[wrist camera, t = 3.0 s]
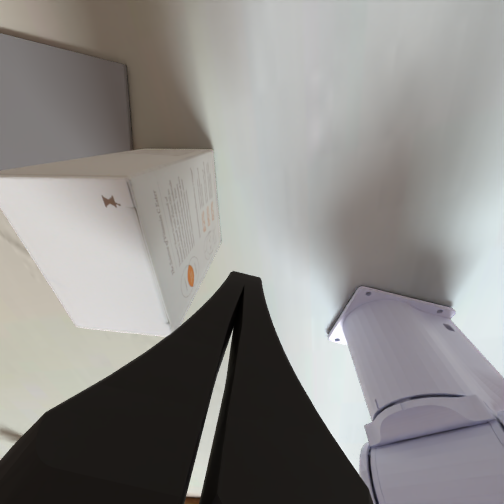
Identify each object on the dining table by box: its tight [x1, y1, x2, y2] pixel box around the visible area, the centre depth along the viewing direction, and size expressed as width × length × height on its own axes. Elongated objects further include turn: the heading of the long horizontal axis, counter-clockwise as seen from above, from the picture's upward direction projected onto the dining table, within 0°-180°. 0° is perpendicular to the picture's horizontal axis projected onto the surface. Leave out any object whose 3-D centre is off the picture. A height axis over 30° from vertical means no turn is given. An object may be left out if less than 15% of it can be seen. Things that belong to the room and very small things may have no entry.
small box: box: [0, 149, 222, 337], centre depth 13 cm, size 8×6×10 cm
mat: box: [0, 33, 133, 171], centre depth 17 cm, size 12×16×1 cm
